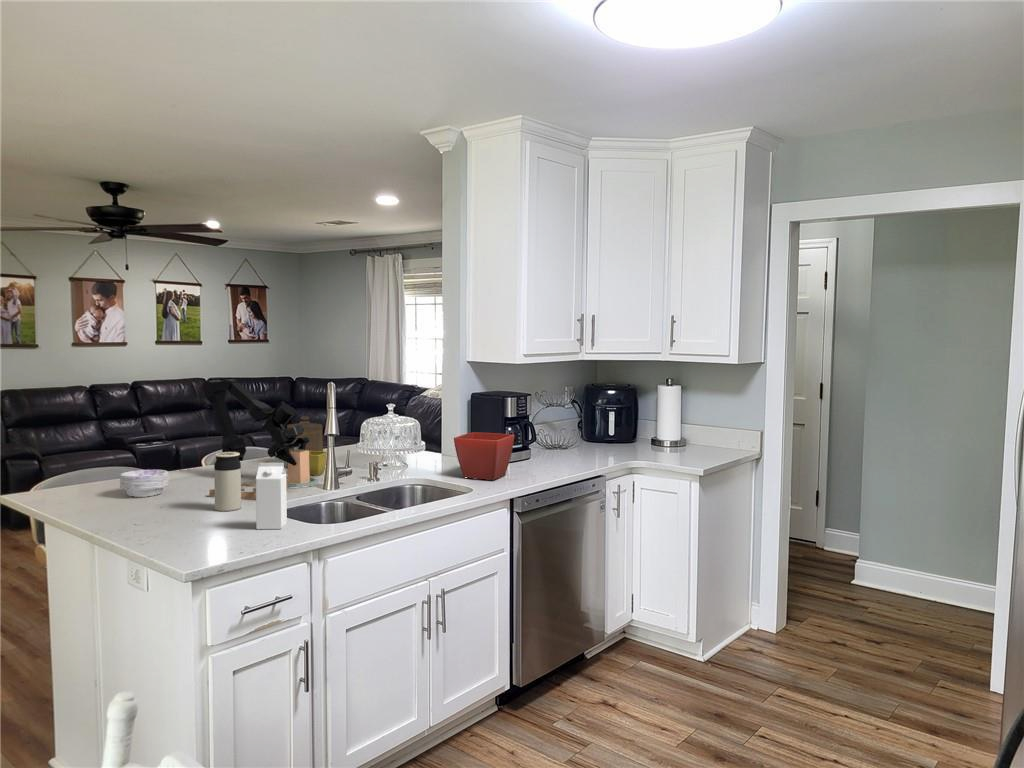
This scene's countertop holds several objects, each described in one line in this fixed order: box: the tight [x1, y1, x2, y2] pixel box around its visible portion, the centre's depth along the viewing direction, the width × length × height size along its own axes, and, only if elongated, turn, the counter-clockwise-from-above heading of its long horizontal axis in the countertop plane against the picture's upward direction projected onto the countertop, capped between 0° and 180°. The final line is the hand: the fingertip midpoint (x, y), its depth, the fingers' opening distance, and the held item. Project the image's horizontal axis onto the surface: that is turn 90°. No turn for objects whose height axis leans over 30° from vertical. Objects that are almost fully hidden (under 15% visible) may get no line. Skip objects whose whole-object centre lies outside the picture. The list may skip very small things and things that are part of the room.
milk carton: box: [255, 462, 288, 530], centre depth 216 cm, size 7×7×19 cm
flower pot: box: [309, 450, 328, 477], centre depth 296 cm, size 9×9×9 cm
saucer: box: [289, 476, 319, 487], centre depth 277 cm, size 13×13×2 cm
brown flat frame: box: [208, 476, 289, 501], centre depth 262 cm, size 18×21×4 cm
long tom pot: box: [287, 449, 311, 483], centre depth 276 cm, size 6×6×12 cm
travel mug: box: [213, 451, 242, 512], centre depth 237 cm, size 8×8×18 cm
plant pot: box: [453, 431, 515, 481], centre depth 295 cm, size 19×19×17 cm
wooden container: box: [286, 415, 324, 469], centre depth 312 cm, size 15×15×22 cm
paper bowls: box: [119, 469, 169, 498], centre depth 256 cm, size 15×15×8 cm
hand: (301, 463), depth 276 cm, fingers open, 7 cm apart
